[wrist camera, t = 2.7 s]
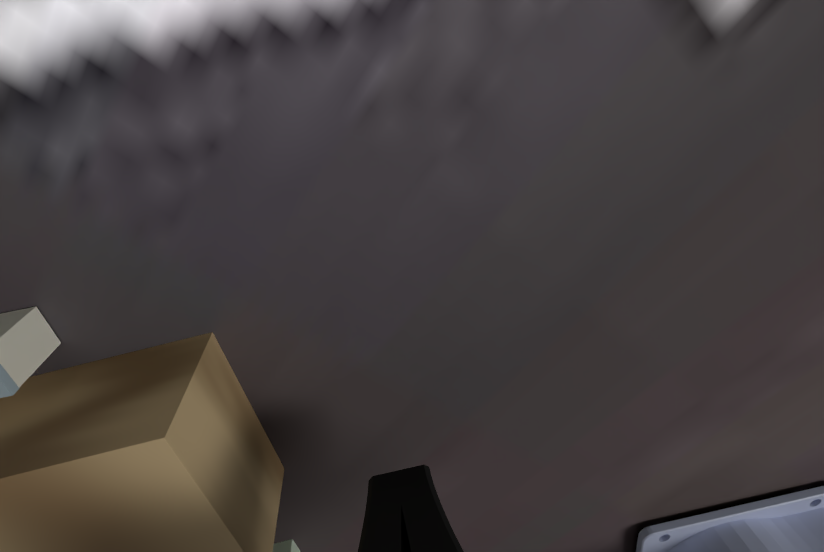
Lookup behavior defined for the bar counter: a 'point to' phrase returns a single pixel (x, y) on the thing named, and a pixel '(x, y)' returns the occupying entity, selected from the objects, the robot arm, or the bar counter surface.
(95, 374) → the oak block
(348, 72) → the bar counter surface
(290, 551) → the sage block
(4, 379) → the bar
